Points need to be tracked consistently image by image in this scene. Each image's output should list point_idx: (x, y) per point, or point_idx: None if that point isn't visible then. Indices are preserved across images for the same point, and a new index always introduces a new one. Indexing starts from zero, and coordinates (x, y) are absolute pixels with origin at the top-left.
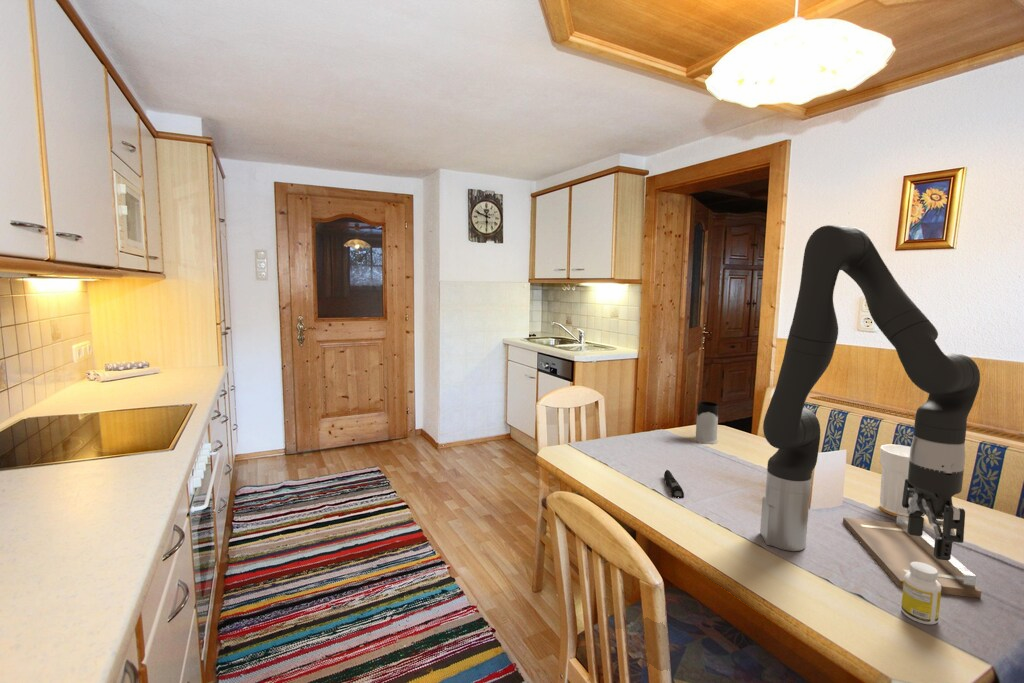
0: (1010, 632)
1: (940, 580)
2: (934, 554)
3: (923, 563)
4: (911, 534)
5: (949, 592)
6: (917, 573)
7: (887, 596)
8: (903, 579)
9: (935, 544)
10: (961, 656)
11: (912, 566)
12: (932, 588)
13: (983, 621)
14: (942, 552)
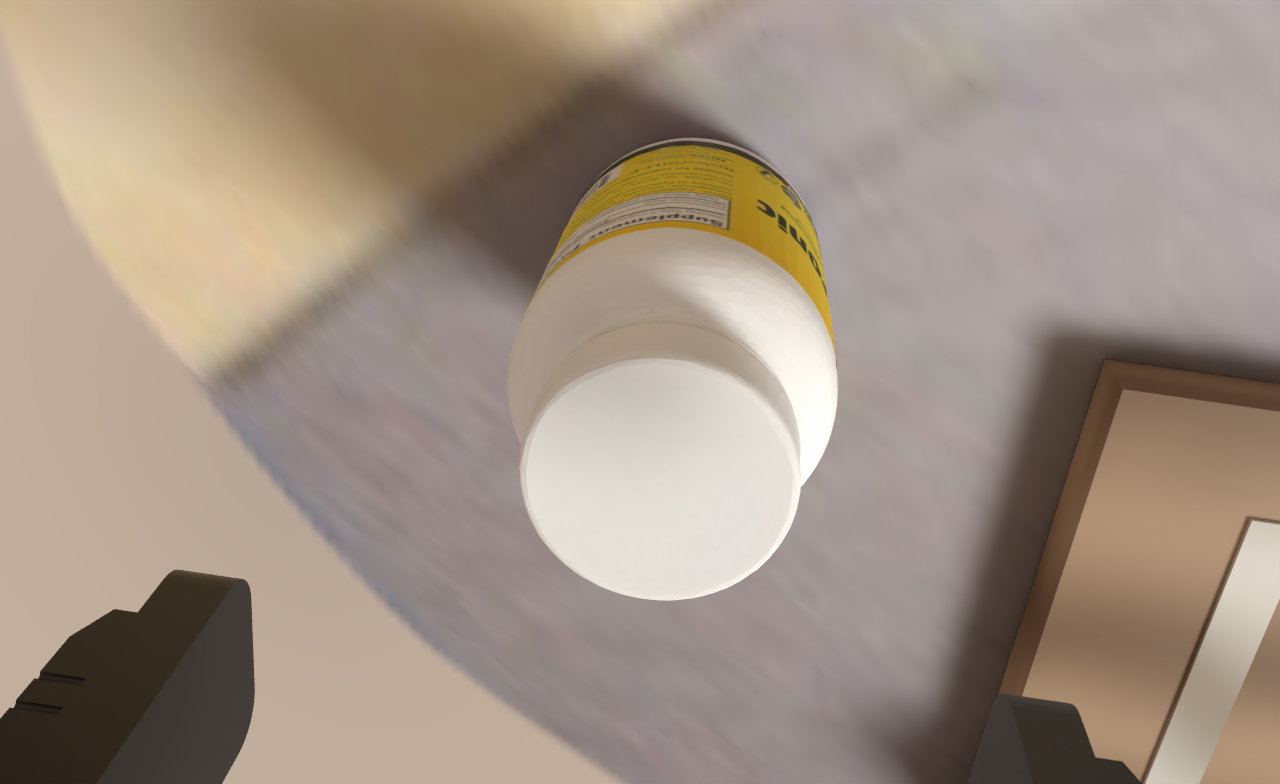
0: (584, 734)
1: (1115, 716)
2: (199, 590)
3: (756, 543)
4: (996, 714)
5: (1006, 686)
6: (587, 352)
7: (965, 155)
8: (1145, 432)
9: (108, 719)
10: (236, 246)
11: (668, 364)
12: (510, 400)
13: (681, 665)
14: (41, 687)
